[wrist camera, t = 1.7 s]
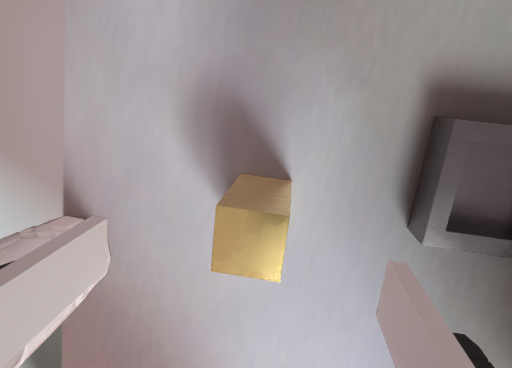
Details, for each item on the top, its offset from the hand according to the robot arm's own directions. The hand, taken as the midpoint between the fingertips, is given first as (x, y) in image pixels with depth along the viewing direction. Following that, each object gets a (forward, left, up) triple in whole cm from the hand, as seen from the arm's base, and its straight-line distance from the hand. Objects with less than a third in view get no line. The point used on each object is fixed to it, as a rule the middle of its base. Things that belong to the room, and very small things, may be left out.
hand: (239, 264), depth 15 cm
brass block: (0, 0, -11) cm, 11 cm away
